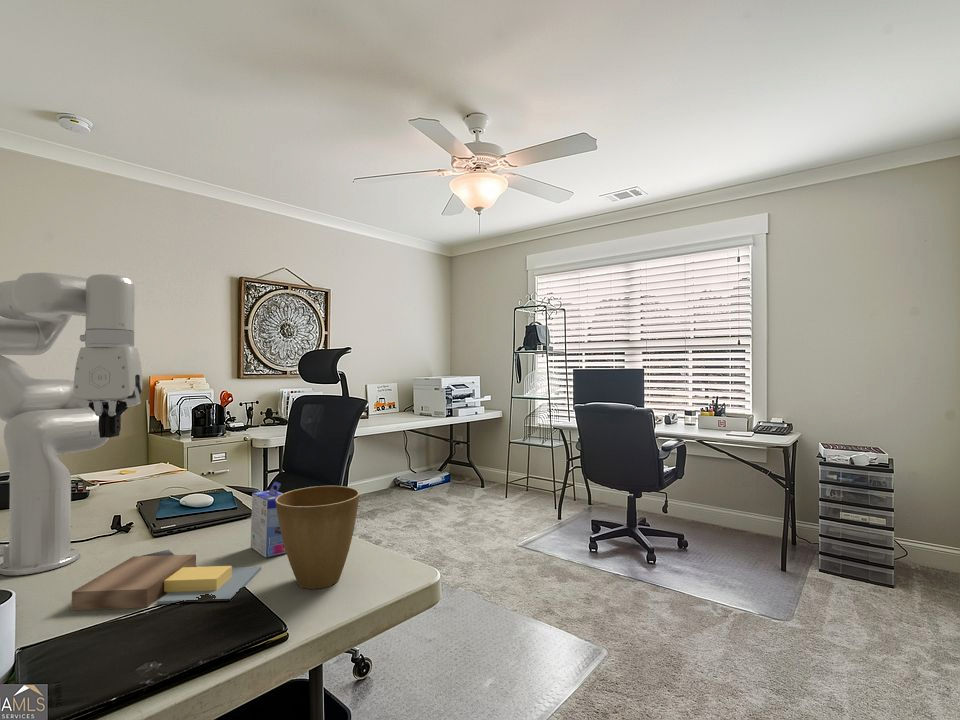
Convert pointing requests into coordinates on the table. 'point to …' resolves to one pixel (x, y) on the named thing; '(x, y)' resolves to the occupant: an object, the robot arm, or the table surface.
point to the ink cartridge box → (266, 523)
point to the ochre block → (198, 579)
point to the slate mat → (224, 592)
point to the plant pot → (317, 531)
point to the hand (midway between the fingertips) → (109, 436)
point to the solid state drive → (160, 553)
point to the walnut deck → (130, 583)
